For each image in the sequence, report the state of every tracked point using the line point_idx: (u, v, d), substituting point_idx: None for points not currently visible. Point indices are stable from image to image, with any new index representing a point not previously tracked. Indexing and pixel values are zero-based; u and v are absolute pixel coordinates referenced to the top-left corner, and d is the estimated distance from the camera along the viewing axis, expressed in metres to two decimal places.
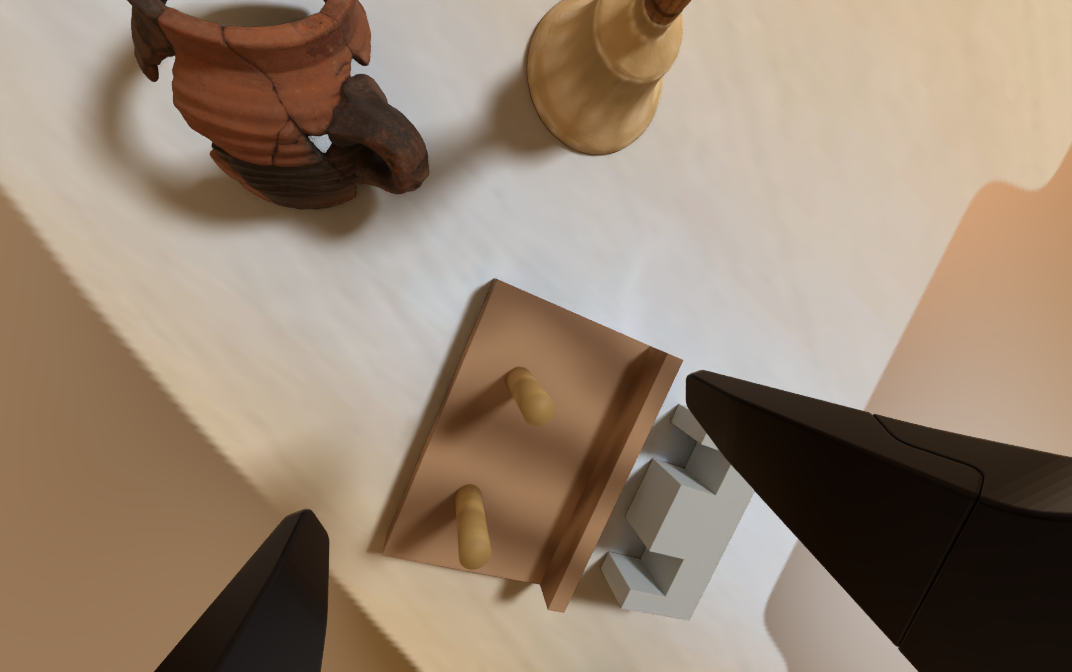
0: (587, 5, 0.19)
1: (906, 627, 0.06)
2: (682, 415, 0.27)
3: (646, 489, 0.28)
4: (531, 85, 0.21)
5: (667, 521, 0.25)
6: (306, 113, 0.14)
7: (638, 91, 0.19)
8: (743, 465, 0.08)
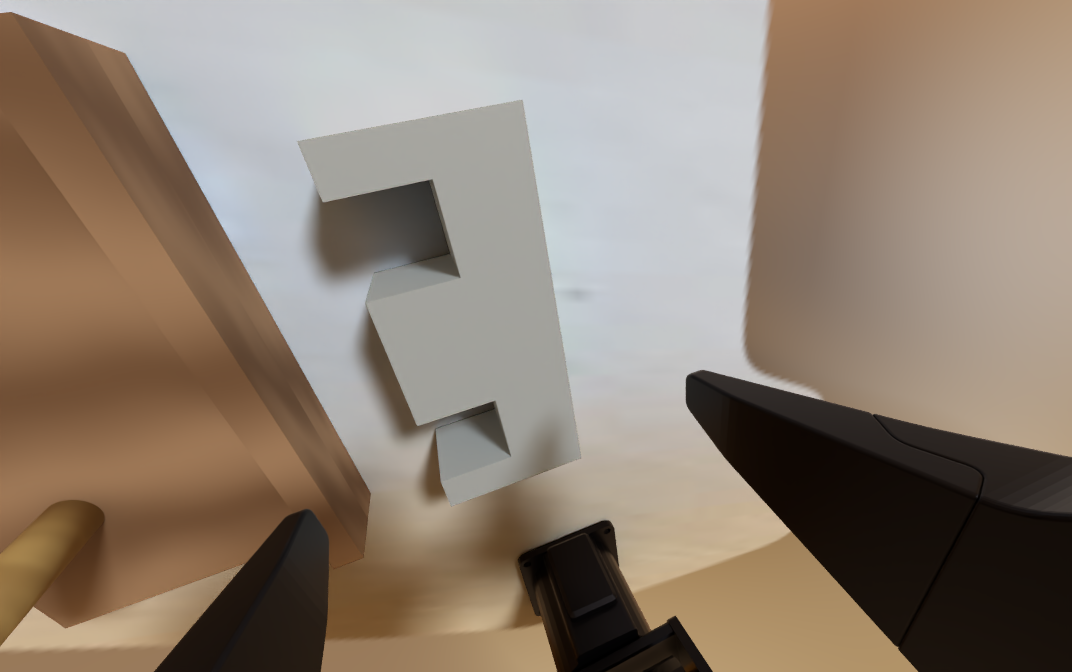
0: None
1: (906, 627, 0.06)
2: None
3: None
4: None
5: (403, 372, 0.13)
6: None
7: None
8: (743, 465, 0.08)
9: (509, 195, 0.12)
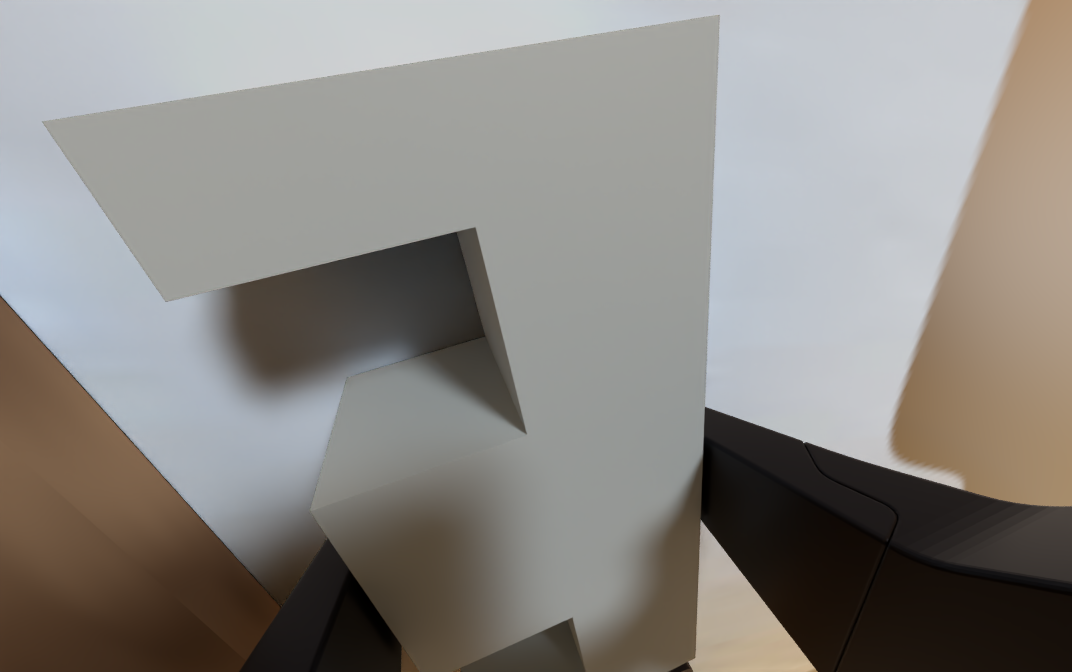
0: None
1: (834, 666, 0.06)
2: None
3: None
4: None
5: (400, 611, 0.06)
6: None
7: None
8: None
9: (650, 258, 0.05)
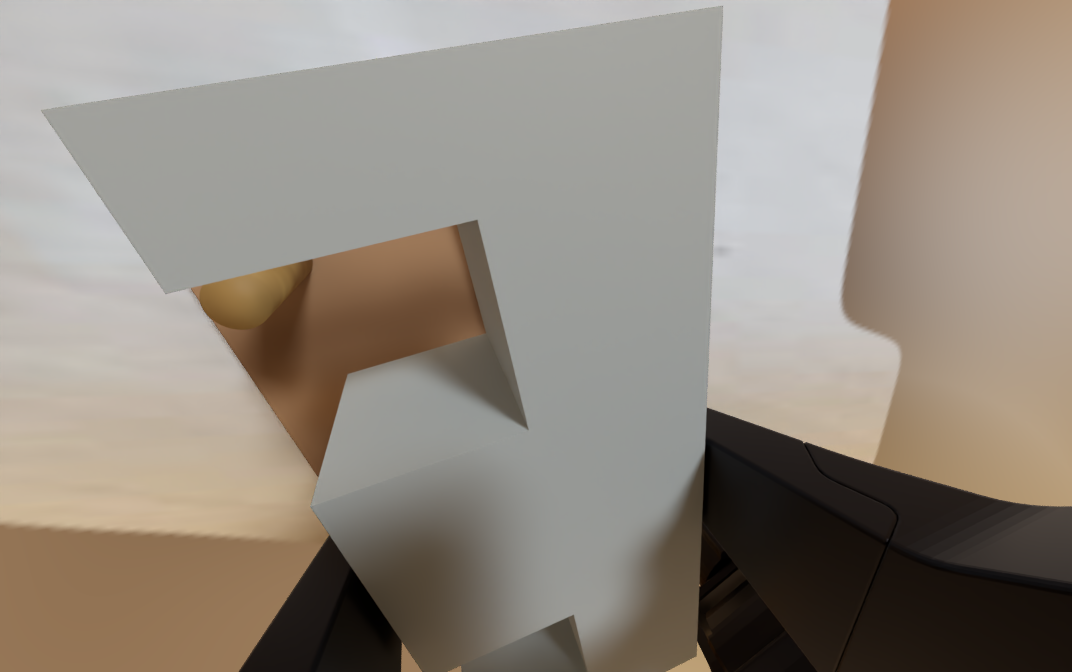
0: None
1: (835, 667, 0.06)
2: None
3: None
4: None
5: (401, 608, 0.06)
6: None
7: None
8: None
9: (652, 251, 0.05)
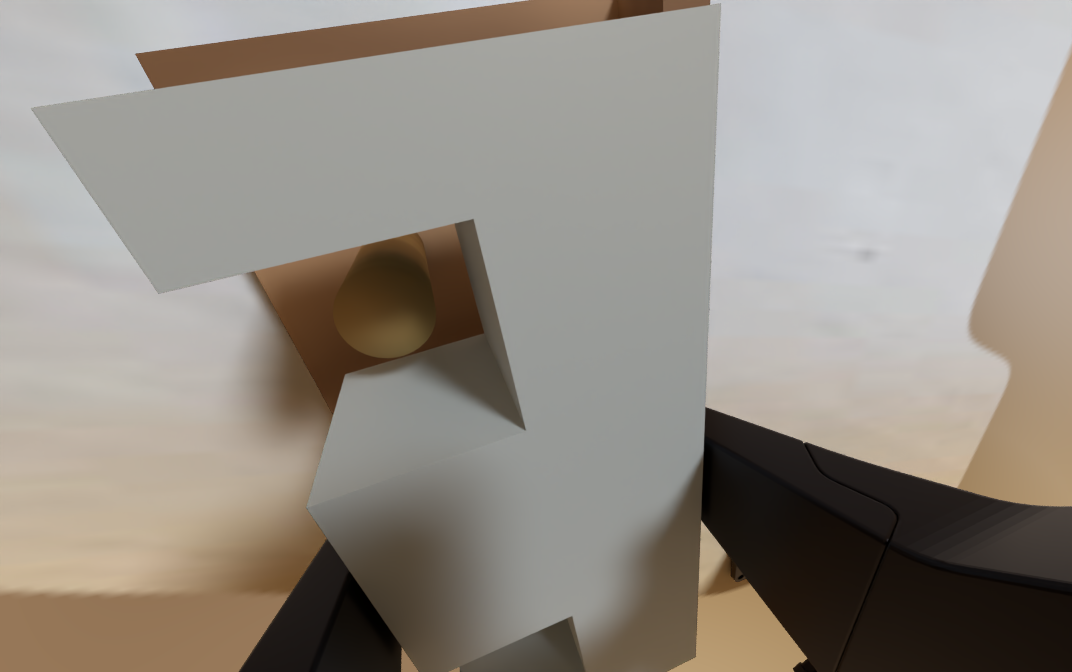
0: None
1: (836, 667, 0.06)
2: None
3: None
4: None
5: (398, 609, 0.06)
6: None
7: None
8: None
9: (650, 251, 0.05)
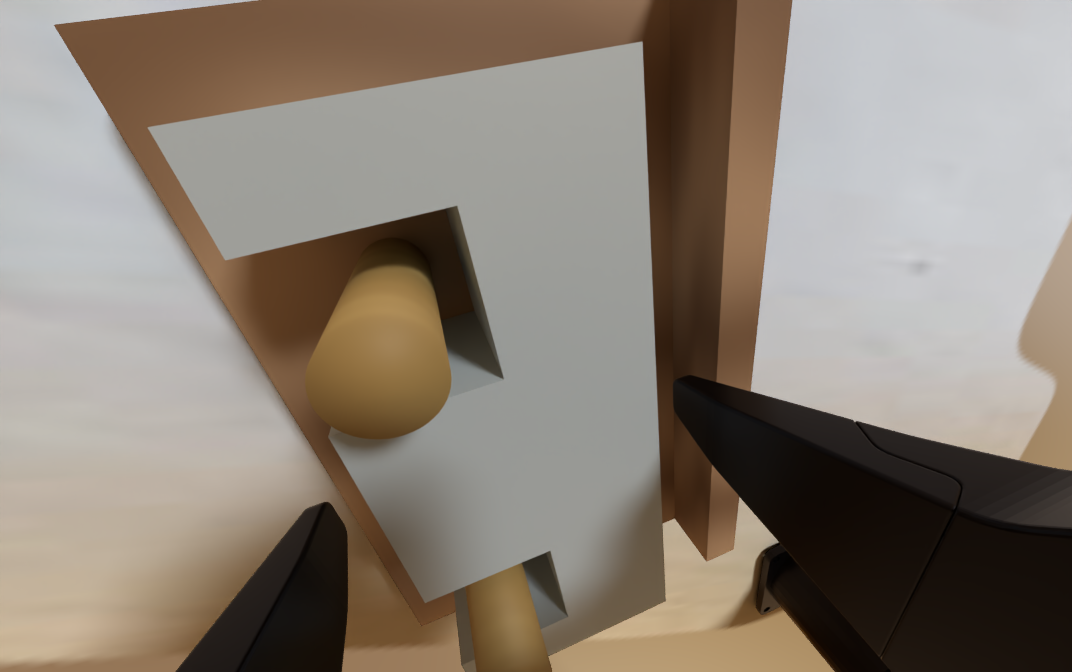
0: None
1: (888, 638, 0.06)
2: None
3: None
4: None
5: (401, 533, 0.08)
6: None
7: None
8: (728, 471, 0.08)
9: (599, 232, 0.06)
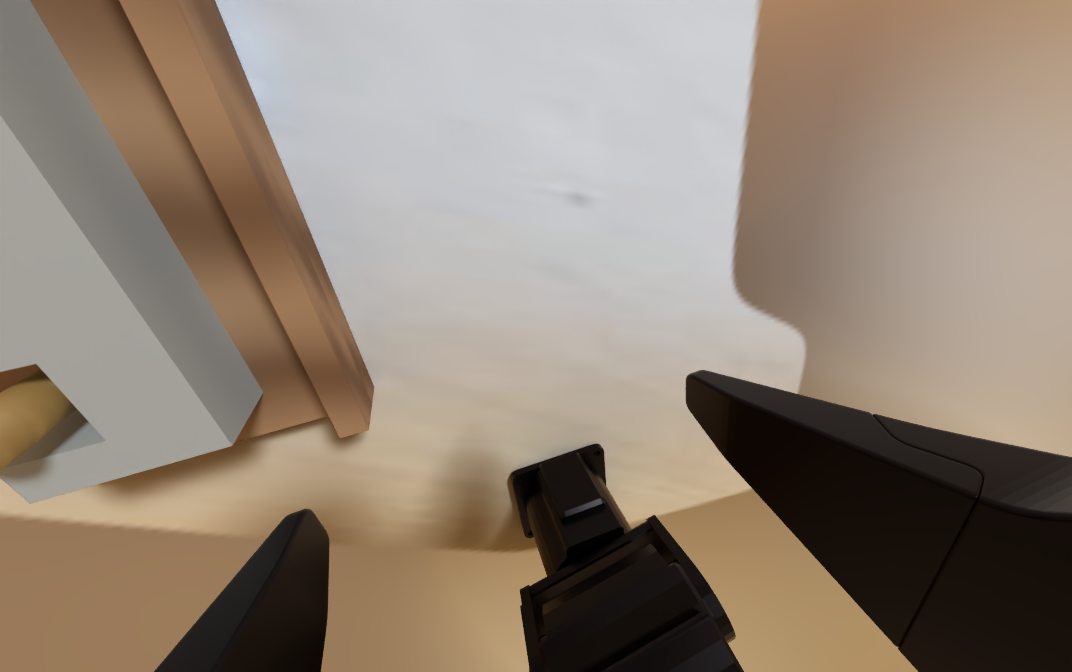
0: None
1: (906, 627, 0.06)
2: None
3: None
4: None
5: None
6: None
7: None
8: (743, 465, 0.08)
9: None
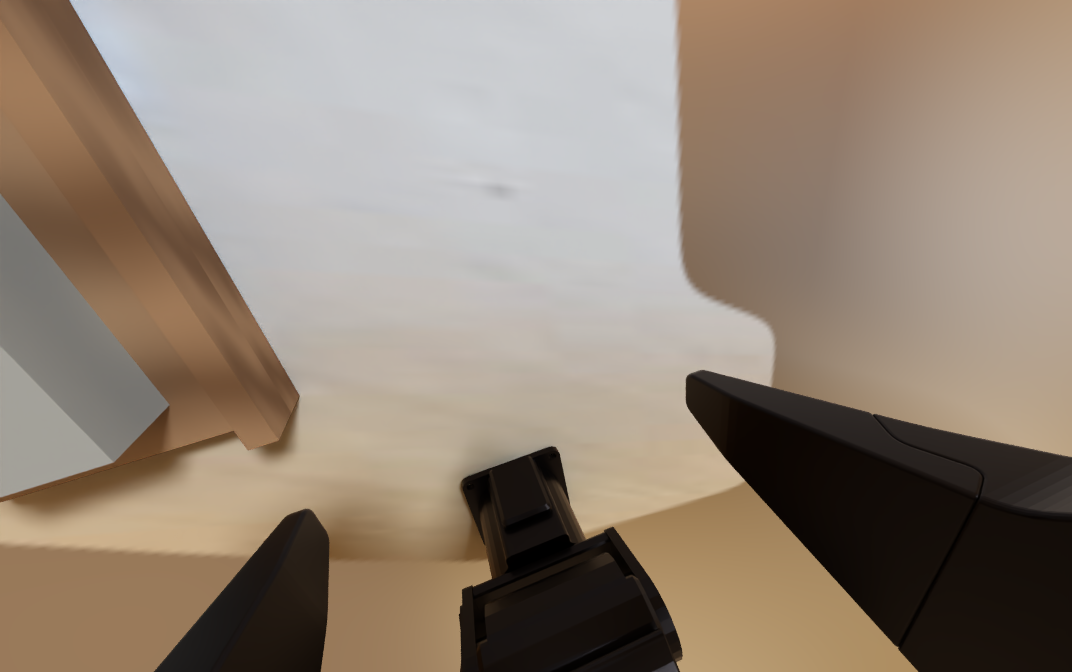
0: None
1: (906, 627, 0.06)
2: None
3: None
4: None
5: None
6: None
7: None
8: (743, 465, 0.08)
9: None
